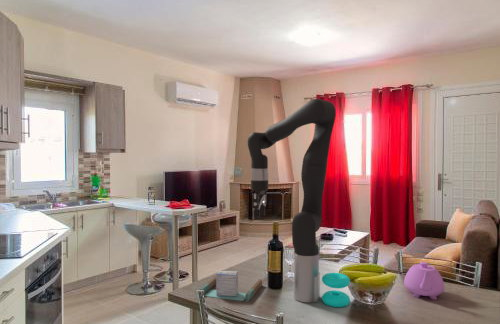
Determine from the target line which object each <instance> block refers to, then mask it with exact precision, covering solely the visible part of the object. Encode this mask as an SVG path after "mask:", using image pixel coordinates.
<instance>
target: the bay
mask: <svg viewBox="0 0 500 324" xmlns="http://www.w3.org/2000/svg"><path fill="white" fill-rule="evenodd" d="M214 286H216V275H215V276H213V277H212V278H211V279H210V280H209V281H208V282H206V283H205V284H204V285H202V286H201V287H200V288H199V290H204V293H205V294H207V293H208V292H209V291H210V290H211V289H212V288H213V287H214ZM262 286H263V279H257V281H256V283H254V284H253V286H252V287H251V288H250V289H249V290H248V291H247V292H246V299H245V302H247V303H249V302H250V301H251V300H252V298H253V297H254V296H255V295H256V294H257V292H258V291H259V290H260V289H261V288H262ZM199 290H198V291H199Z"/></svg>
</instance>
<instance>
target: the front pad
mask: <svg viewBox="0 0 500 324" xmlns="http://www.w3.org/2000/svg"><path fill="white" fill-rule="evenodd" d="M246 294H247V292H246V293H244V292H238V294H237V296H236V297H235V296H217V295H216V289H212V288H211V289H210V290H209V291H207V292H206V293H205V294H204V295H203V296H204V297H208V298H217V299H222V300H223V299H224V300H230V301H231V300H233V301H238V302H244V301H246Z"/></svg>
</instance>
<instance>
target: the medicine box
mask: <svg viewBox="0 0 500 324" xmlns="http://www.w3.org/2000/svg"><path fill="white" fill-rule="evenodd" d="M215 276H216V285H215V288H216V289H215V290H216V295H217V296H235V297H236V296H237V294H238V293H239V271H237V270H236V271H235V270H218V271H217V273H216V275H215Z"/></svg>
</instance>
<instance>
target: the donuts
mask: <svg viewBox="0 0 500 324" xmlns="http://www.w3.org/2000/svg"><path fill="white" fill-rule="evenodd" d="M321 280H322V283H323V284H324V285H325V286H327V287H329V288H332V290H328V291H325V292H324V293H323V294H322V297H321V299H322V302H323V303H324V304H325V305H326V306H328V307H329V306H330V307H332V308H333V307H334V308H344V307H347V306H349V304H350V302H351V300H350V299H351V298H350V296H349V295H348V294H347V293H345V292H343V291H341V290H333V289H343V288H346V287H348V286H349V285H350V283H351V279H350V277H349V276H348V275H346V274H344V273H339V272H327V273H325V274H323V276H322V278H321Z"/></svg>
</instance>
